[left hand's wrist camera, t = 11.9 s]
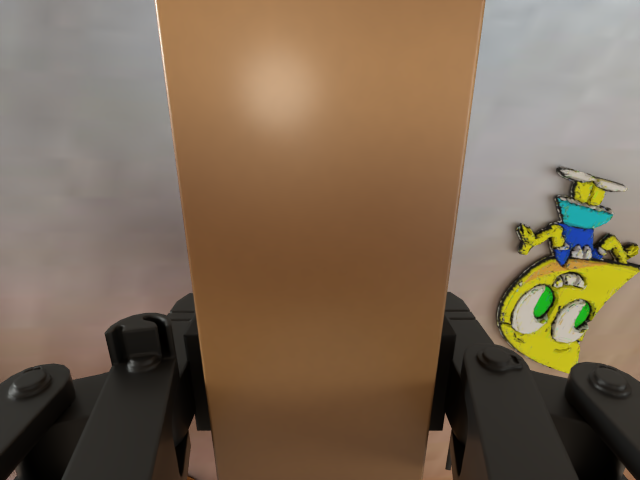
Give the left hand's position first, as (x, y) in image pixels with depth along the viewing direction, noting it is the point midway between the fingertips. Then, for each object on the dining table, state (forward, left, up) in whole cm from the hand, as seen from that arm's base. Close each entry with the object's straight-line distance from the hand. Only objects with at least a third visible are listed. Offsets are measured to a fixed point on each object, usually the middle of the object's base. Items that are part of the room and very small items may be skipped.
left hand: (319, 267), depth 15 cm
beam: (+9, +28, -1) cm, 29 cm away
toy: (+15, -11, -12) cm, 22 cm away
